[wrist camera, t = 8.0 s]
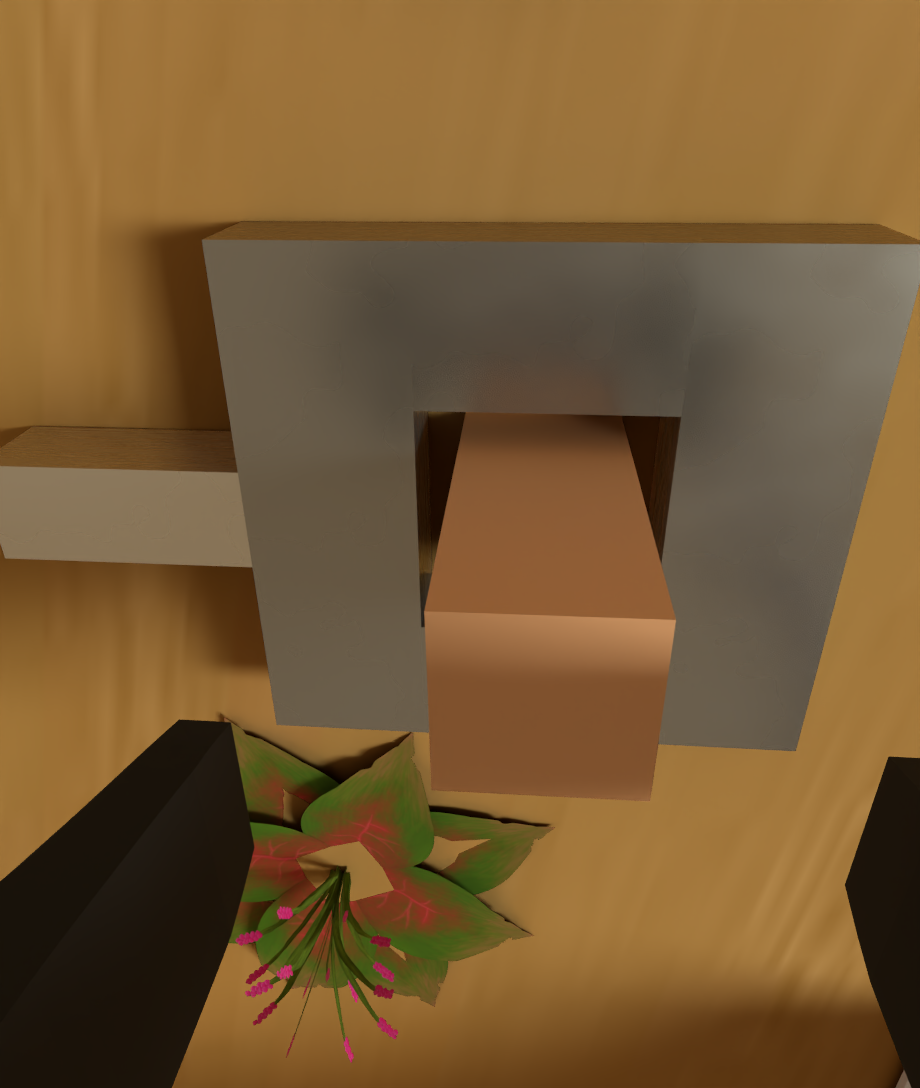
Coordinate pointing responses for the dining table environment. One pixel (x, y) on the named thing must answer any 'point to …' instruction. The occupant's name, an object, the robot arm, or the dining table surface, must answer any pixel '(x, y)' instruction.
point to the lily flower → (350, 927)
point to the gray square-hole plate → (507, 387)
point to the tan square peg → (546, 614)
